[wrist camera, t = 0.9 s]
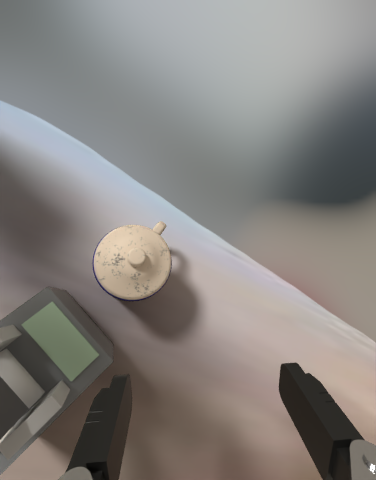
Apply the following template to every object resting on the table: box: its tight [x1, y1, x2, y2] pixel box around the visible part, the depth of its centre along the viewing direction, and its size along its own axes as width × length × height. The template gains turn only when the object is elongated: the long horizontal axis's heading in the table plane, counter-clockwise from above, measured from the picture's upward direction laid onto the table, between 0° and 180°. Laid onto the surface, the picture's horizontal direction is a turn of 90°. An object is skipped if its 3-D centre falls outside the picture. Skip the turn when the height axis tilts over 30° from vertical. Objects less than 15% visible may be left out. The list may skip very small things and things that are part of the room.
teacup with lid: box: [93, 221, 172, 301], centre depth 28 cm, size 12×9×12 cm
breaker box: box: [0, 287, 113, 475], centre depth 21 cm, size 12×10×13 cm
